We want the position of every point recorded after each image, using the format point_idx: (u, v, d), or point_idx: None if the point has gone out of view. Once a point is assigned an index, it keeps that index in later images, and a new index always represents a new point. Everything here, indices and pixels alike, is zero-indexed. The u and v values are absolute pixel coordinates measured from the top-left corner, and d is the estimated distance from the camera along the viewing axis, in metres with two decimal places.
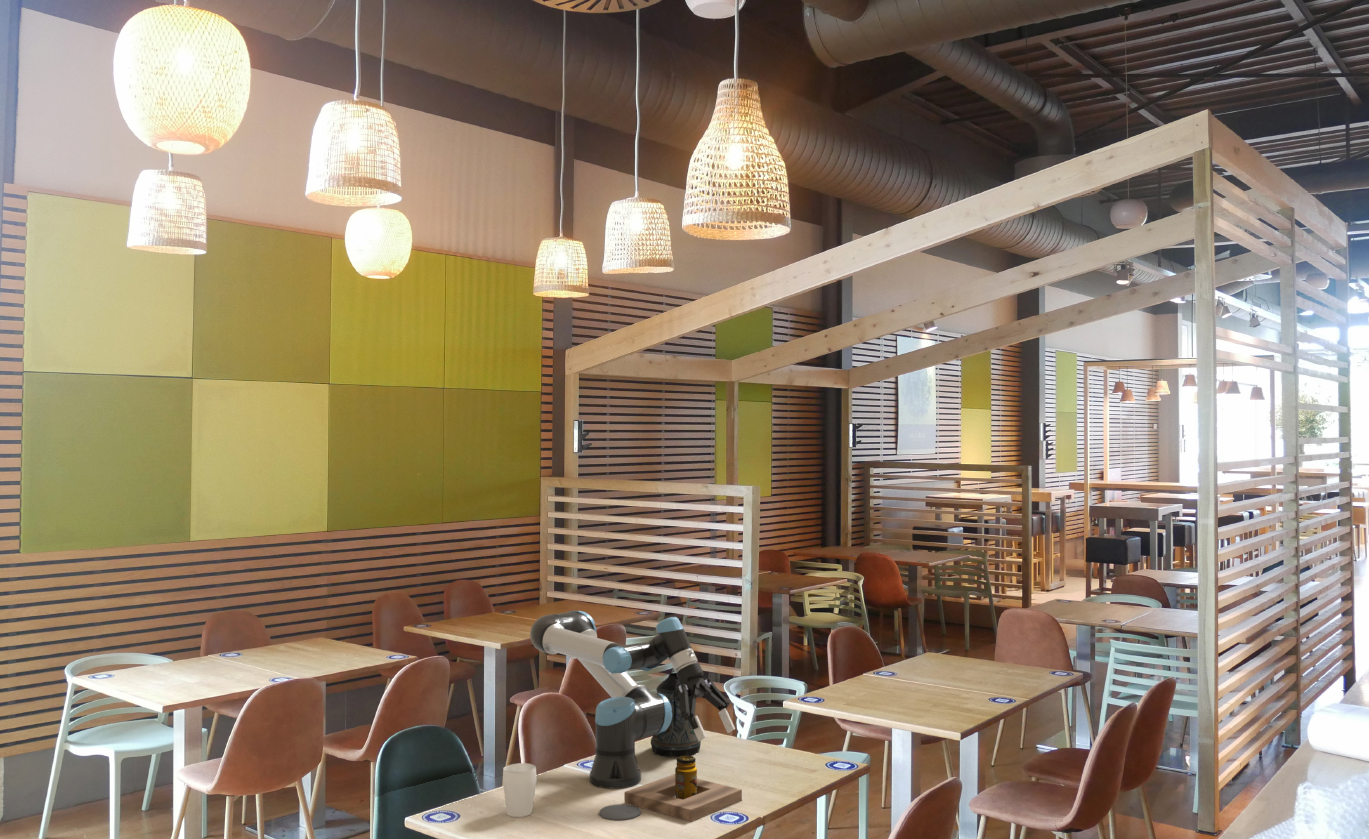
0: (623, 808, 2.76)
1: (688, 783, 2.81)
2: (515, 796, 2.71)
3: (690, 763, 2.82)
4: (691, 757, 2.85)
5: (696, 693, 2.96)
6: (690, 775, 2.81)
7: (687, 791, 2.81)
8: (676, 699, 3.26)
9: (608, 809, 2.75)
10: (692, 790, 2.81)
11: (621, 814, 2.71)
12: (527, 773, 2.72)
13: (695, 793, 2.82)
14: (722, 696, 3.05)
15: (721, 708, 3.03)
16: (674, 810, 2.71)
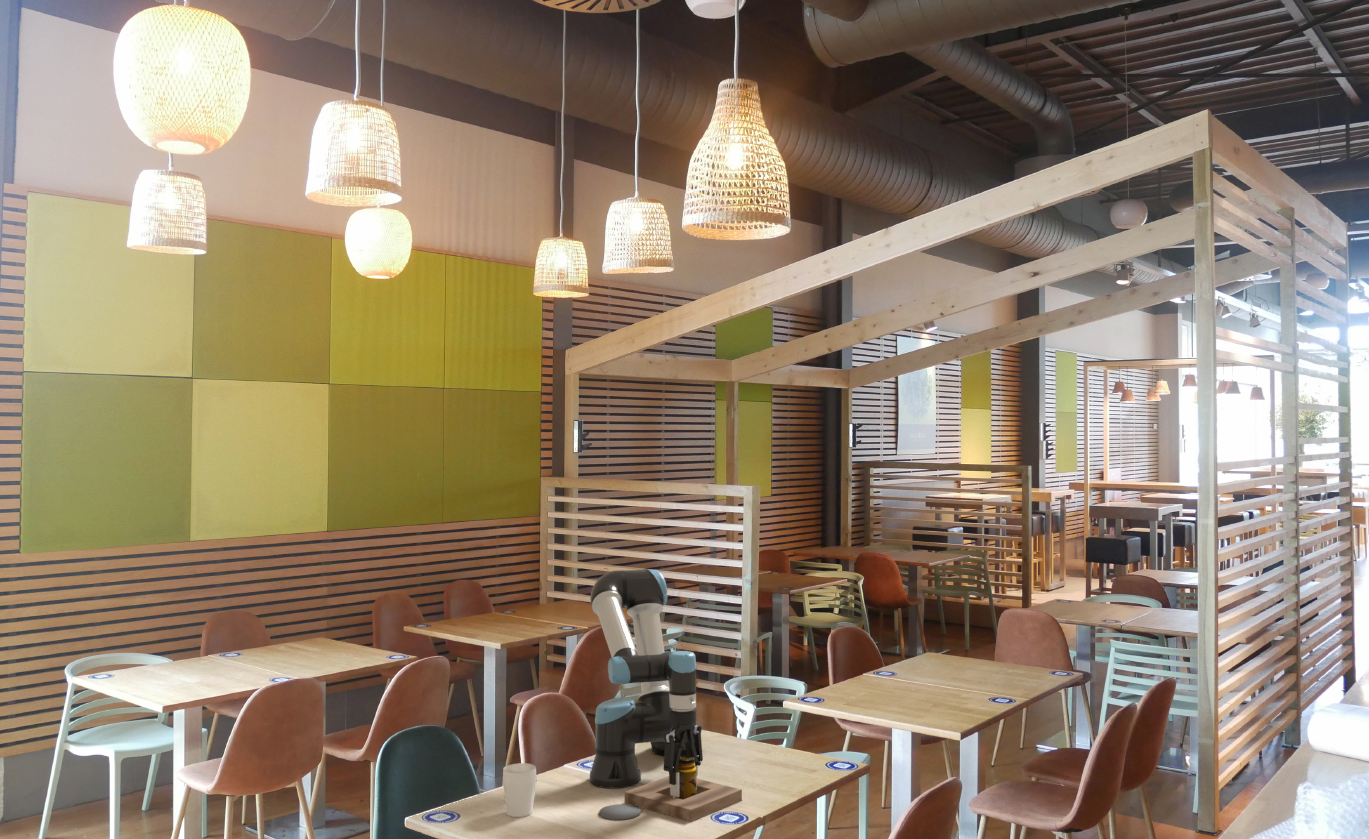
0: (623, 808, 2.76)
1: (687, 783, 2.81)
2: (515, 796, 2.71)
3: (689, 764, 2.82)
4: (690, 757, 2.85)
5: (682, 744, 2.81)
6: (689, 775, 2.81)
7: (686, 791, 2.81)
8: None
9: (608, 809, 2.75)
10: (691, 790, 2.81)
11: (621, 814, 2.71)
12: (527, 773, 2.72)
13: (694, 793, 2.82)
14: (700, 750, 2.88)
15: None
16: (674, 810, 2.71)
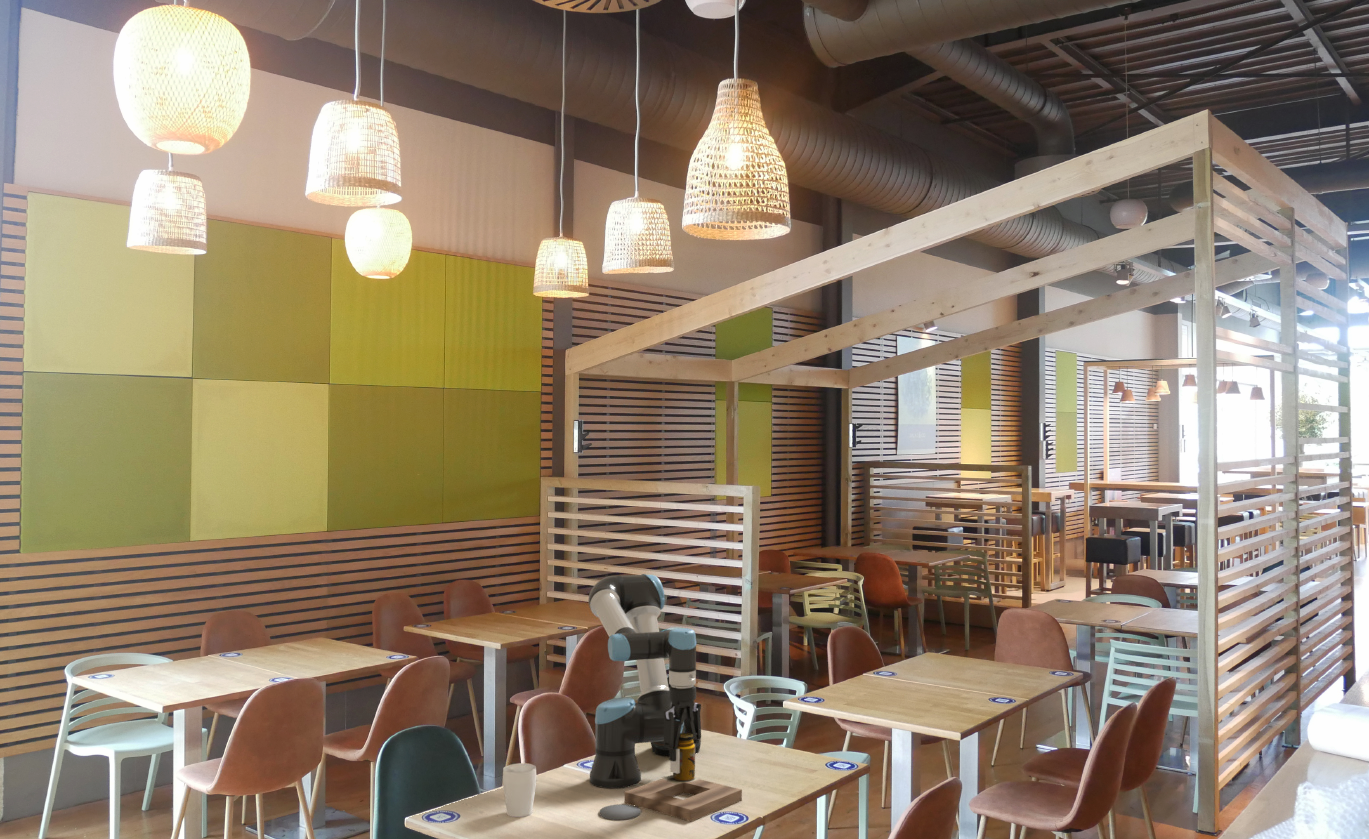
0: (623, 808, 2.76)
1: (686, 760, 2.81)
2: (515, 796, 2.71)
3: (688, 741, 2.82)
4: (689, 734, 2.85)
5: (682, 721, 2.82)
6: (688, 752, 2.81)
7: (685, 768, 2.81)
8: None
9: (608, 809, 2.75)
10: (689, 767, 2.81)
11: (621, 814, 2.71)
12: (527, 773, 2.72)
13: (693, 770, 2.82)
14: (699, 728, 2.88)
15: None
16: (674, 810, 2.71)
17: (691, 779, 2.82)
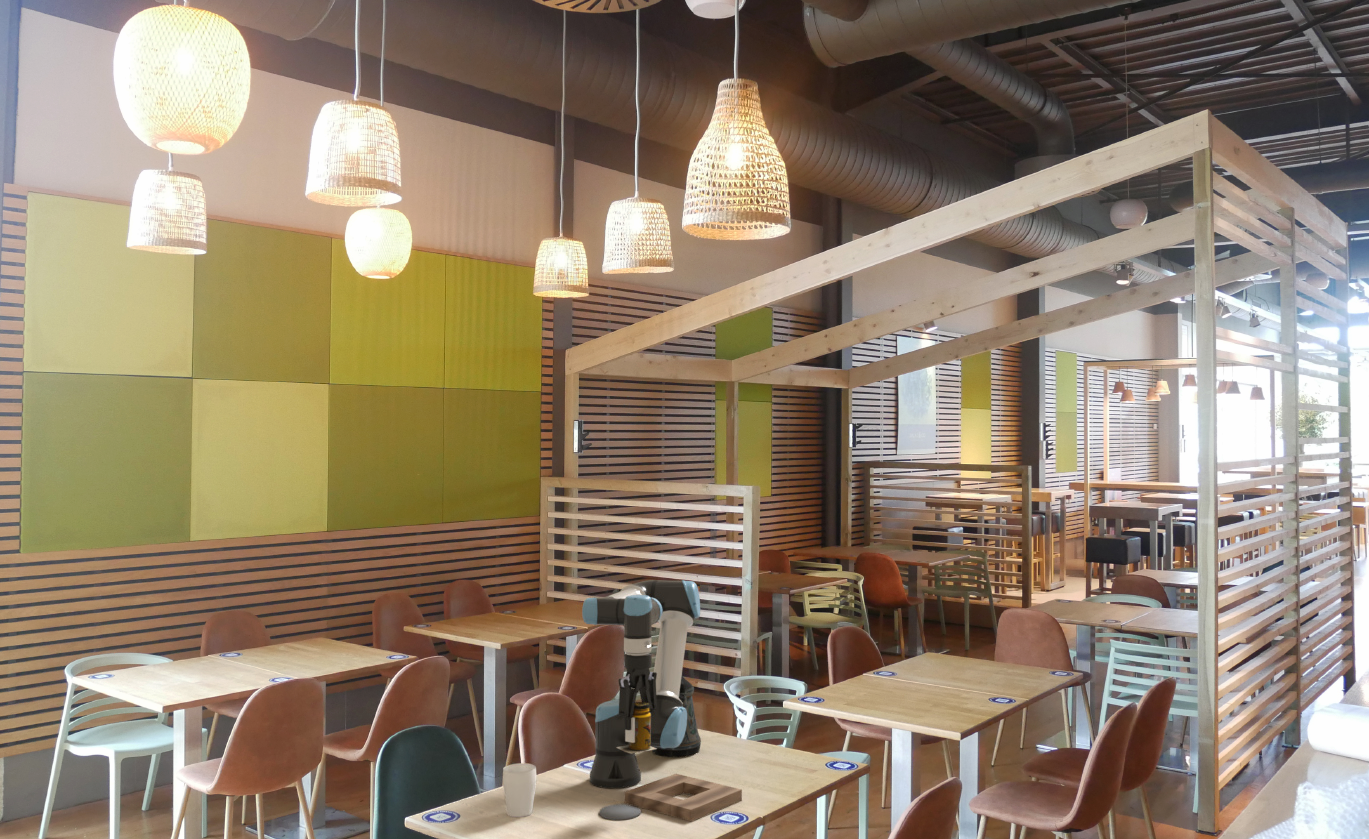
0: (623, 808, 2.76)
1: (642, 729, 2.74)
2: (515, 796, 2.71)
3: (644, 709, 2.75)
4: (645, 703, 2.78)
5: (637, 689, 2.76)
6: (643, 721, 2.75)
7: (640, 737, 2.74)
8: None
9: (608, 809, 2.75)
10: (645, 736, 2.75)
11: (621, 814, 2.71)
12: (527, 773, 2.72)
13: (649, 739, 2.76)
14: (654, 697, 2.82)
15: None
16: (674, 810, 2.71)
17: (647, 748, 2.75)
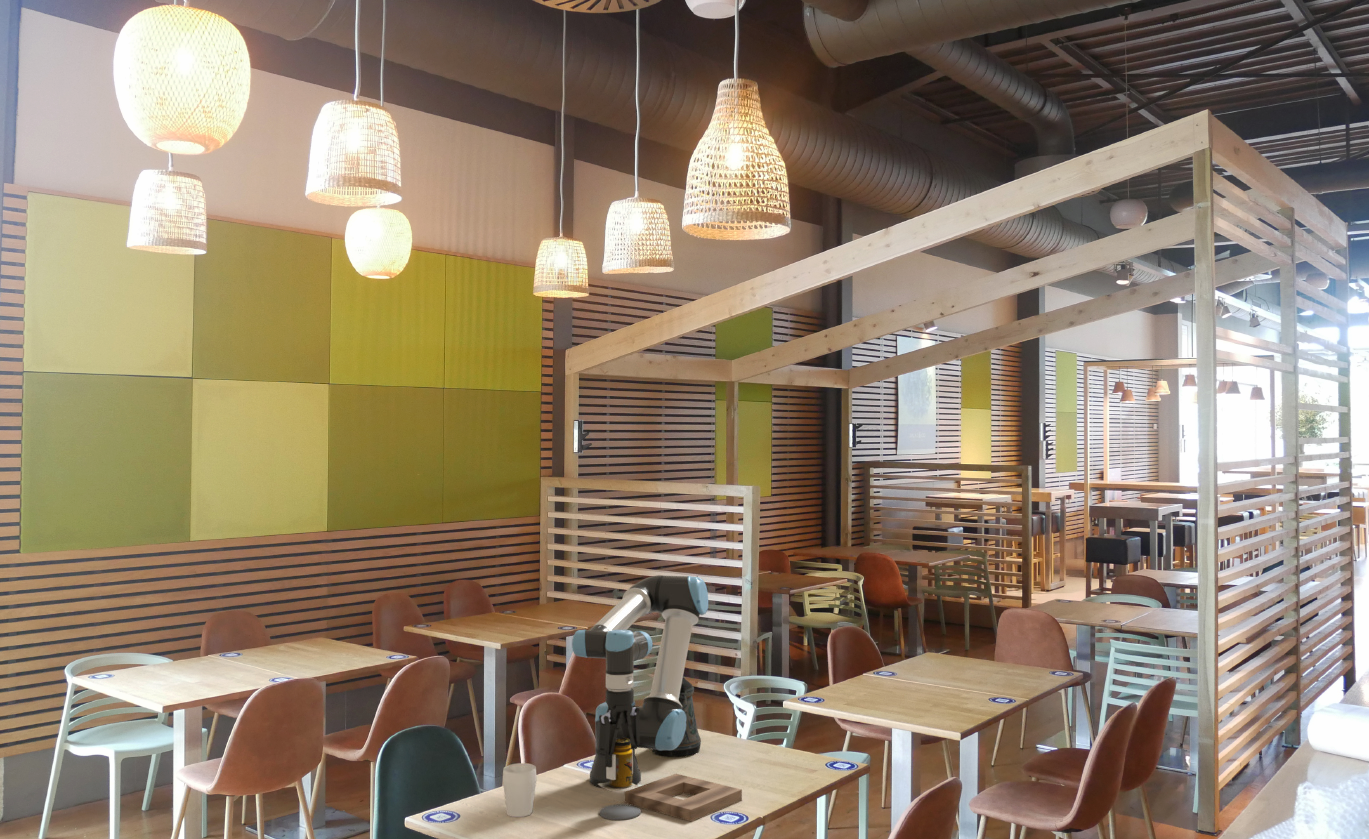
0: (623, 808, 2.76)
1: (622, 766, 2.71)
2: (515, 796, 2.71)
3: (625, 746, 2.72)
4: (626, 739, 2.75)
5: (618, 725, 2.73)
6: (624, 758, 2.72)
7: (621, 775, 2.71)
8: None
9: (608, 809, 2.75)
10: (626, 774, 2.72)
11: (621, 814, 2.71)
12: (527, 773, 2.72)
13: (630, 777, 2.73)
14: (637, 733, 2.79)
15: None
16: (674, 810, 2.71)
17: (628, 786, 2.72)
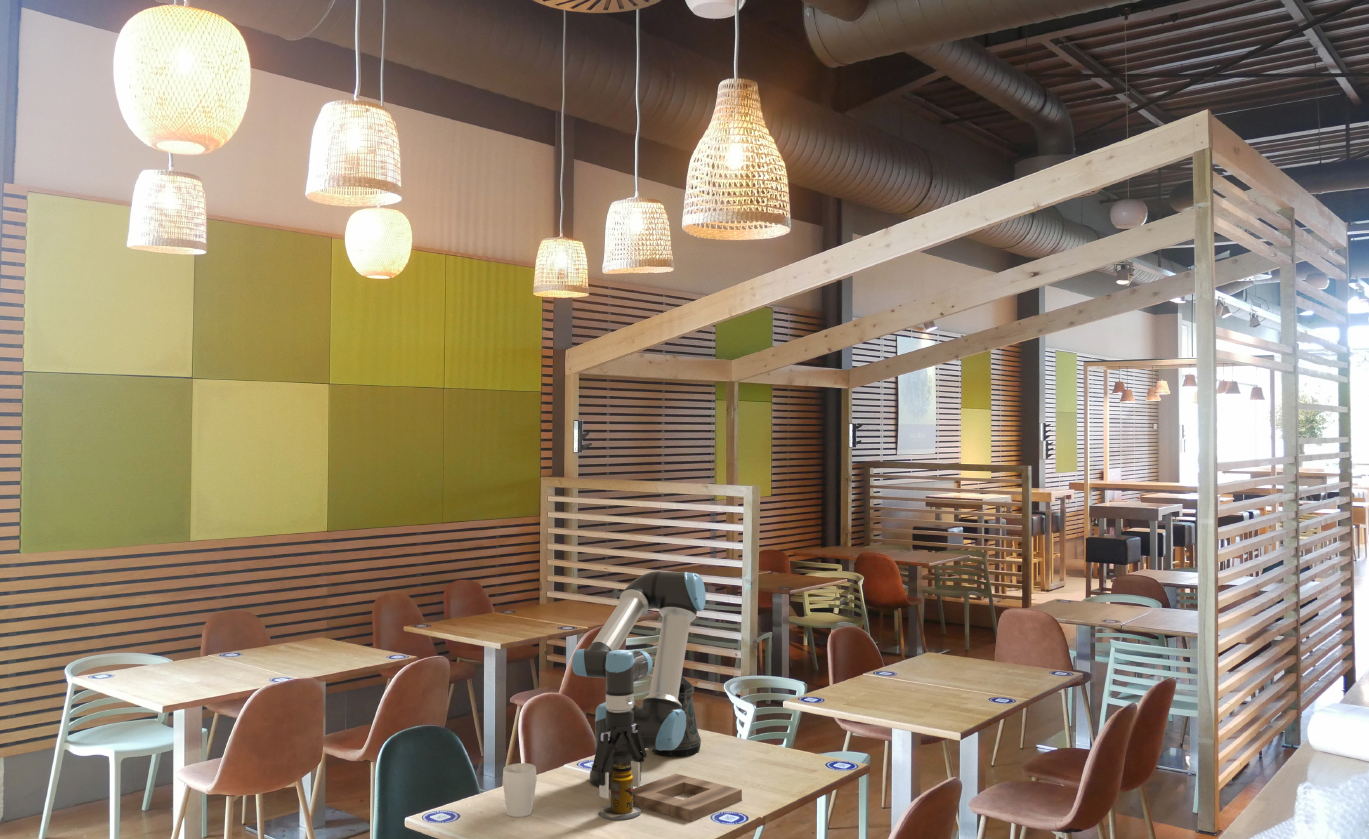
0: None
1: (623, 792, 2.71)
2: (515, 796, 2.71)
3: (625, 772, 2.72)
4: (627, 765, 2.75)
5: (616, 745, 2.72)
6: (625, 783, 2.72)
7: (622, 800, 2.71)
8: None
9: None
10: (627, 800, 2.72)
11: None
12: (527, 773, 2.72)
13: (631, 802, 2.73)
14: (642, 747, 2.80)
15: (635, 759, 2.80)
16: (674, 810, 2.71)
17: (629, 812, 2.72)
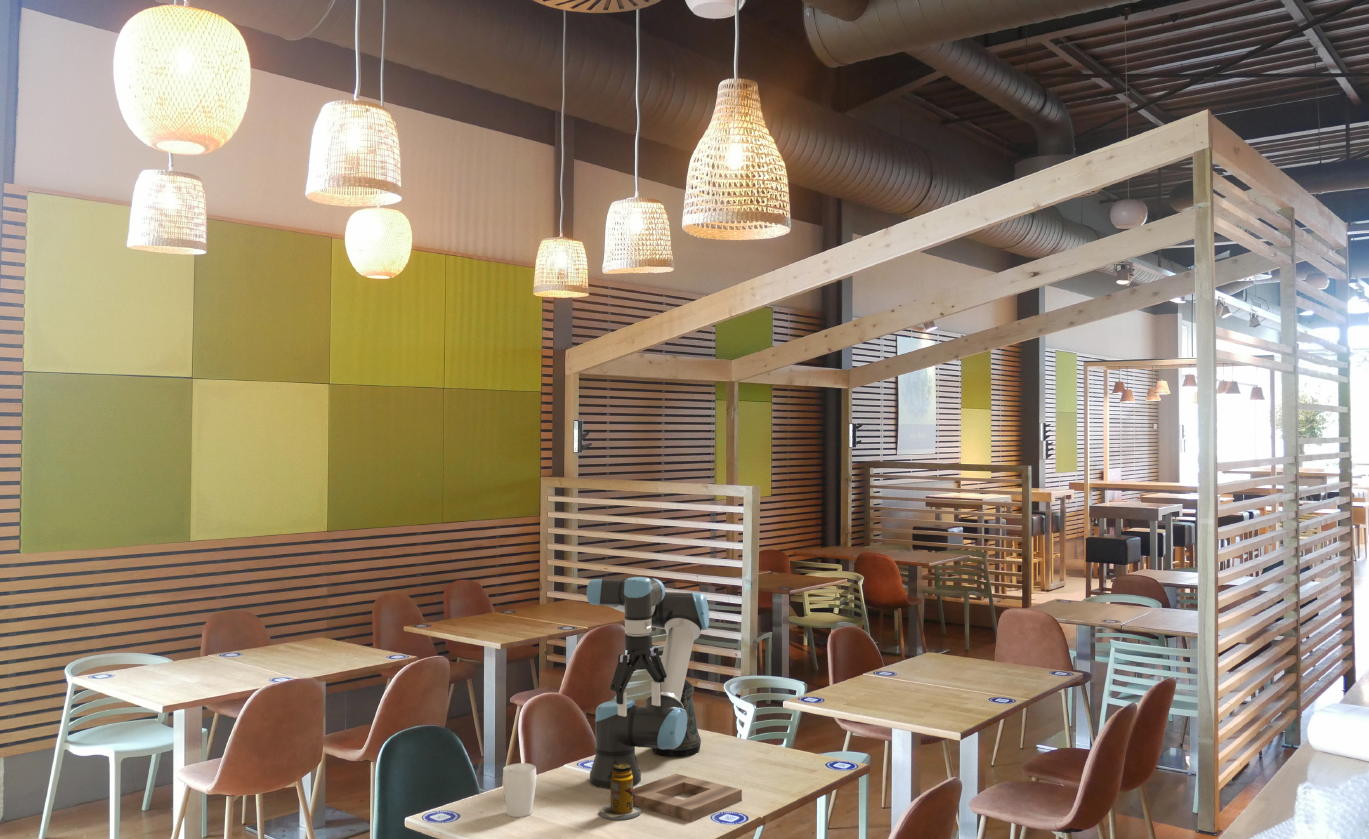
0: None
1: (623, 792, 2.71)
2: (515, 796, 2.71)
3: (625, 772, 2.72)
4: (627, 765, 2.75)
5: (635, 667, 2.81)
6: (625, 783, 2.72)
7: (622, 800, 2.71)
8: None
9: None
10: (627, 800, 2.72)
11: None
12: (527, 773, 2.72)
13: (631, 802, 2.73)
14: (662, 668, 2.90)
15: (656, 679, 2.90)
16: (674, 810, 2.71)
17: (629, 812, 2.72)
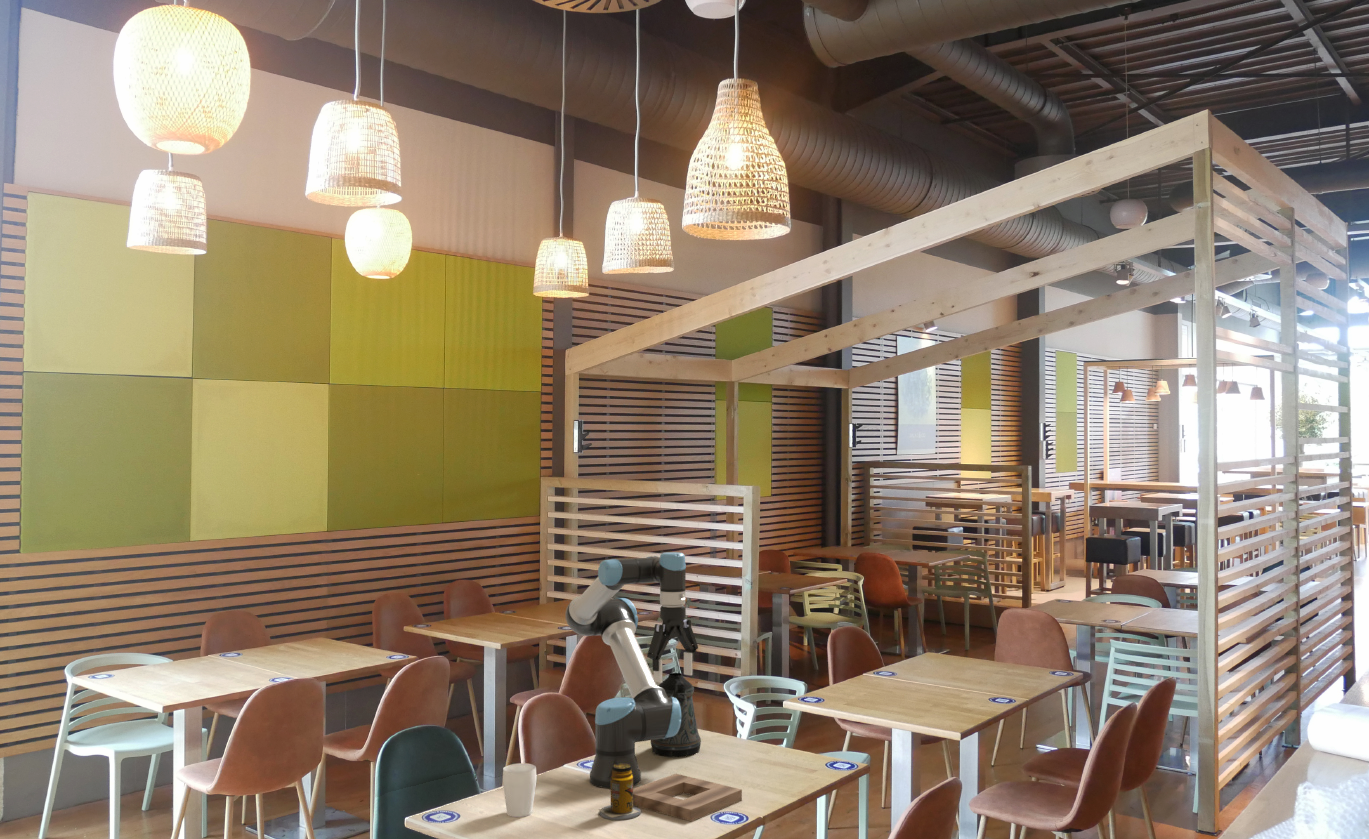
0: None
1: (623, 792, 2.71)
2: (515, 796, 2.71)
3: (625, 772, 2.72)
4: (627, 765, 2.75)
5: (670, 637, 2.97)
6: (625, 783, 2.72)
7: (622, 800, 2.71)
8: None
9: None
10: (627, 800, 2.72)
11: None
12: (527, 773, 2.72)
13: (631, 802, 2.73)
14: (694, 640, 3.06)
15: (688, 650, 3.06)
16: (674, 810, 2.71)
17: (629, 812, 2.72)
